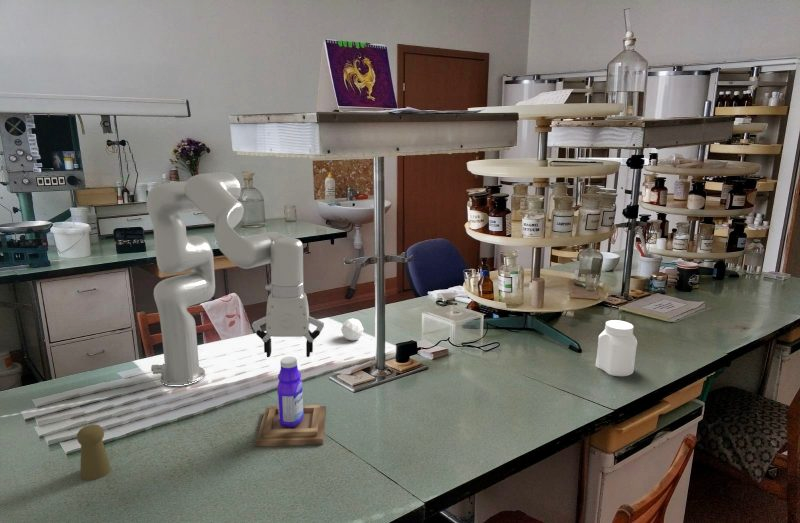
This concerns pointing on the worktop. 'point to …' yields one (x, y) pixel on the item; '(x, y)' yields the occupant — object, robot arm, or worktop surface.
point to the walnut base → (299, 435)
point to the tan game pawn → (93, 453)
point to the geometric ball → (352, 329)
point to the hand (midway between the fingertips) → (288, 354)
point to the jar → (617, 348)
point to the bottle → (290, 393)
